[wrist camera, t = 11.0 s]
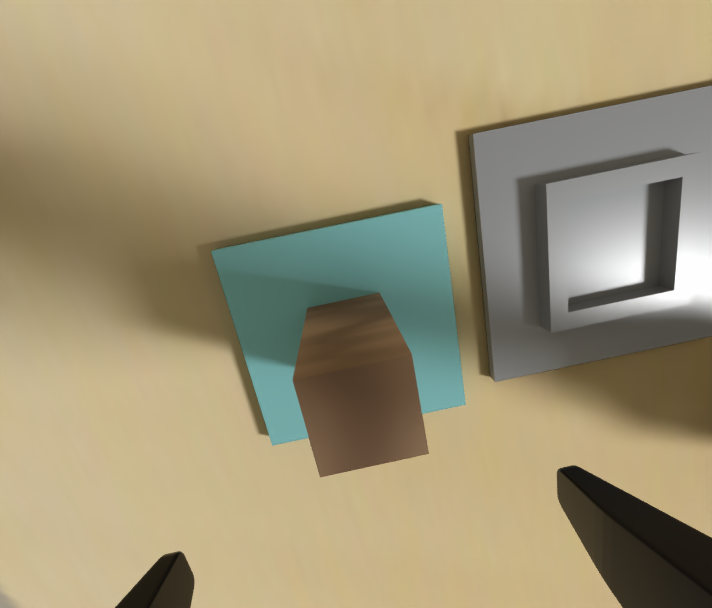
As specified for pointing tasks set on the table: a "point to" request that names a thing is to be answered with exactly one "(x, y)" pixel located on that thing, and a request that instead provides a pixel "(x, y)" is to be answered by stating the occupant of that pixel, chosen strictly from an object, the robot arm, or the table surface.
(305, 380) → the walnut block
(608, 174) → the holder
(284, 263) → the mat
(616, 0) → the table surface
